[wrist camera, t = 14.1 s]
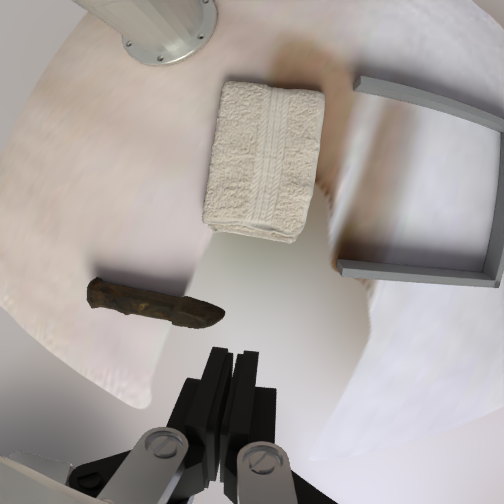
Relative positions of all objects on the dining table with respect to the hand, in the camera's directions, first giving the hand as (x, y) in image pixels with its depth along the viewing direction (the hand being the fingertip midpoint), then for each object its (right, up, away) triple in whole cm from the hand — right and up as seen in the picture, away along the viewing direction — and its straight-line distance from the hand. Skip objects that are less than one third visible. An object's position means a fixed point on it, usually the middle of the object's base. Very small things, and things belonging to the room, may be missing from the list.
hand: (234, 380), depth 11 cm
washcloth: (+2, +15, +25) cm, 29 cm away
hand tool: (-12, -1, +30) cm, 32 cm away
